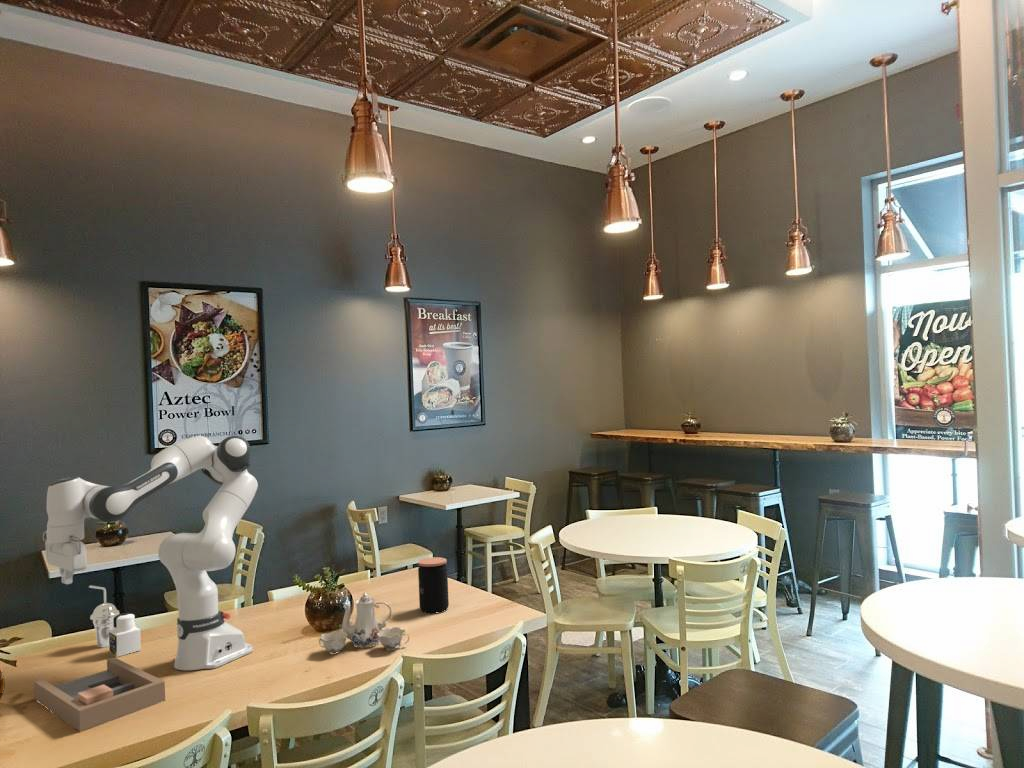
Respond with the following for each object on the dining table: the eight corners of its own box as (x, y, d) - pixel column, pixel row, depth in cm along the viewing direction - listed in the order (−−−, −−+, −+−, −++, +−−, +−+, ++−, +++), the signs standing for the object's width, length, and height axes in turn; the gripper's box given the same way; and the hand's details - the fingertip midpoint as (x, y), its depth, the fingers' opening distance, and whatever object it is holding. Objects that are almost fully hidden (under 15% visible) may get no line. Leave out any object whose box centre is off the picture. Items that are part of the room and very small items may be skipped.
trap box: (114, 674, 195) (114, 657, 195) (165, 700, 176) (164, 681, 176) (34, 700, 179) (34, 681, 180) (80, 732, 160) (79, 711, 160)
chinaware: (315, 665, 199) (313, 612, 198) (323, 640, 216) (320, 591, 215) (409, 656, 203) (407, 604, 202) (409, 632, 220) (407, 584, 219)
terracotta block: (104, 701, 172) (103, 684, 172) (113, 707, 168) (113, 689, 168) (78, 710, 167) (77, 692, 167) (87, 717, 163) (86, 698, 163)
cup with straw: (99, 651, 215) (98, 589, 216) (84, 647, 220) (82, 587, 220) (125, 642, 223) (124, 582, 223) (110, 639, 227) (108, 580, 228)
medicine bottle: (109, 652, 214) (108, 615, 214) (133, 646, 219) (132, 609, 219) (116, 657, 209) (115, 619, 209) (141, 650, 214) (139, 613, 215)
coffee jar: (424, 605, 250) (422, 557, 251) (451, 605, 248) (449, 557, 249) (416, 614, 239) (414, 564, 240) (445, 614, 238) (442, 563, 238)
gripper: (92, 535, 185) (93, 585, 185) (65, 529, 198) (66, 576, 197) (66, 539, 180) (68, 591, 180) (40, 533, 193) (41, 581, 192)
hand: (67, 583), depth 189 cm, fingers closed
